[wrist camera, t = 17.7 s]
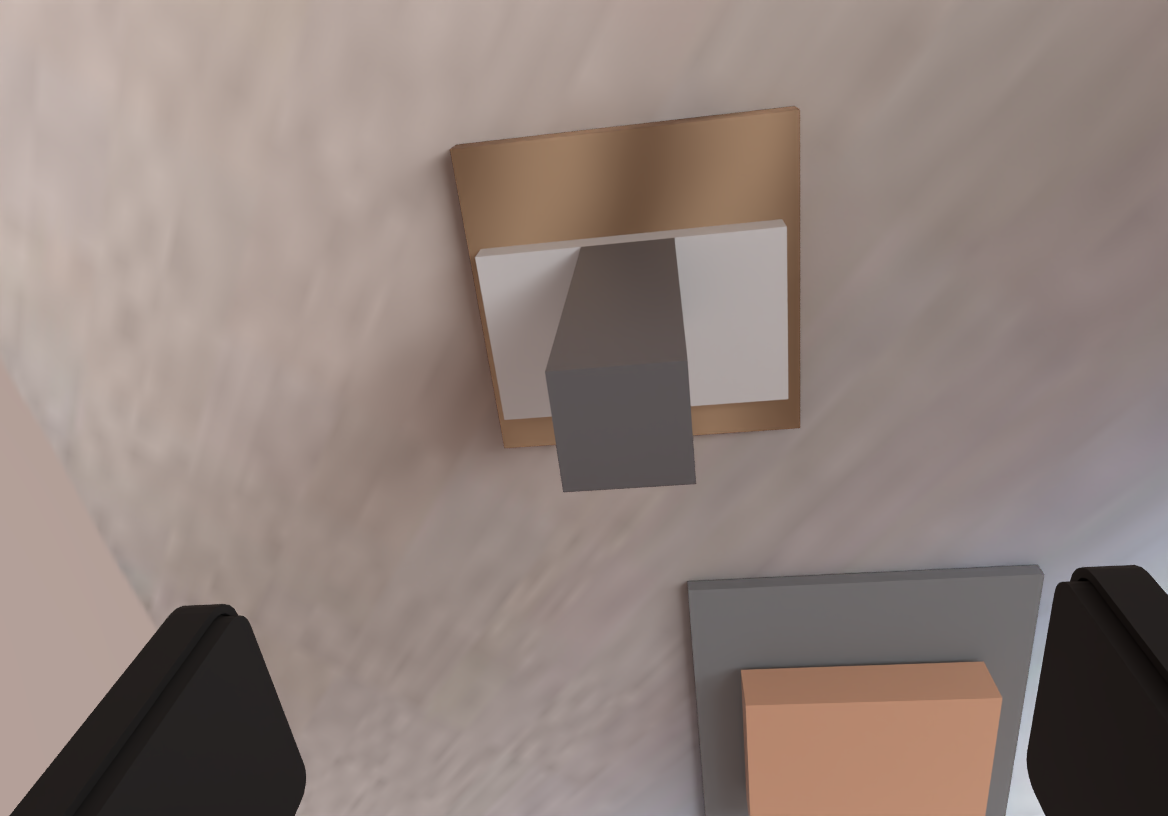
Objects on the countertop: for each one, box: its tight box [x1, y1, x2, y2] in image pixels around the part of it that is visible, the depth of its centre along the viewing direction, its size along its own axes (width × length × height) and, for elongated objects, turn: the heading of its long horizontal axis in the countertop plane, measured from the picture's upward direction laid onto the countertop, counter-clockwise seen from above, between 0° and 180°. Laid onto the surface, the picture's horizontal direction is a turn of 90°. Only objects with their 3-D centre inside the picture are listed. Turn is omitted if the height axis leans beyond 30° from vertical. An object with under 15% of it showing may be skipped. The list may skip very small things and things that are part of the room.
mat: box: [687, 565, 1044, 816], centre depth 36 cm, size 14×16×1 cm
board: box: [450, 106, 800, 448], centre depth 28 cm, size 11×11×1 cm
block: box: [741, 661, 1002, 816], centre depth 35 cm, size 10×2×8 cm
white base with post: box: [475, 219, 788, 492], centre depth 23 cm, size 6×10×11 cm, turn 97°
